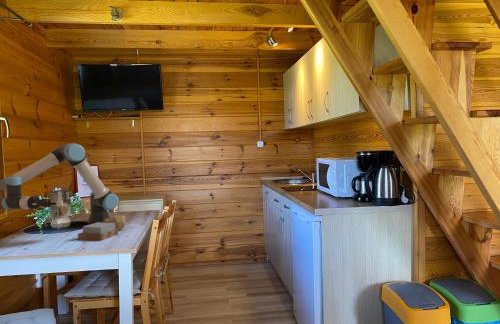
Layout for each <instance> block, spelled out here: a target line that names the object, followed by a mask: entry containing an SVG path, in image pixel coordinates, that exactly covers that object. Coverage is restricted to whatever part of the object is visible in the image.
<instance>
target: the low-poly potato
mask: <svg viewBox="0 0 500 324" xmlns="http://www.w3.org/2000/svg"><path fill="white" fill-rule="evenodd" d="M104 223H115V229H118V232H120V231H122V230H124V228H125V227H126V226H125V225H126V215H116V216H113V217H110V218H106V219H105V221H104Z"/></svg>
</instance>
